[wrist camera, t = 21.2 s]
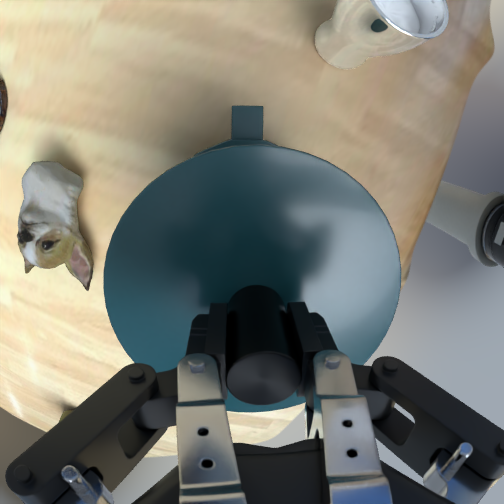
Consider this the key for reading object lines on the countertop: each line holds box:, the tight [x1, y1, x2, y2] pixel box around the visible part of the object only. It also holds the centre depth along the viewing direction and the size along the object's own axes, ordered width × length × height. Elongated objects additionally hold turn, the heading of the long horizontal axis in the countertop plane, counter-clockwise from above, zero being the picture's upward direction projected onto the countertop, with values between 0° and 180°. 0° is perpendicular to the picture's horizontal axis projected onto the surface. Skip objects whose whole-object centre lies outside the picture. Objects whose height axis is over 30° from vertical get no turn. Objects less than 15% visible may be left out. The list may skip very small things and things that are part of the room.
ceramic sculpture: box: [17, 161, 93, 291], centre depth 29 cm, size 11×9×15 cm
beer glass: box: [314, 0, 449, 69], centre depth 20 cm, size 7×7×15 cm
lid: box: [104, 144, 401, 412], centre depth 13 cm, size 15×15×6 cm
